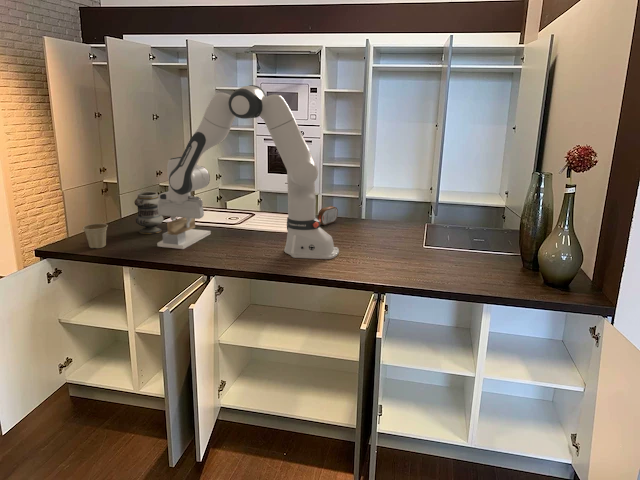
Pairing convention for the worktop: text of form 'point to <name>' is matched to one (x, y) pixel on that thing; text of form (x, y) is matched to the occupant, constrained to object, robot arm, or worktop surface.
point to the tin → (327, 215)
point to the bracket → (182, 238)
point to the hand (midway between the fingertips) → (181, 226)
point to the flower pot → (96, 235)
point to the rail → (179, 226)
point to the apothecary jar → (148, 212)
